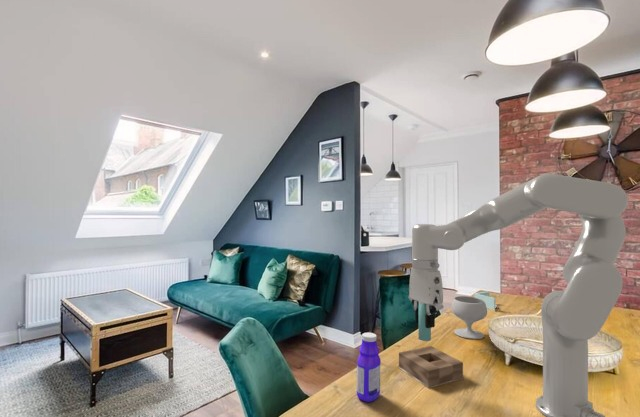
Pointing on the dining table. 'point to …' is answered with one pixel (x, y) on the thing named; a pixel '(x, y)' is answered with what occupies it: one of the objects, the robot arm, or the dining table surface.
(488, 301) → the l-shaped corner panel
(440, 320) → the dining table surface
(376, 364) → the bottle
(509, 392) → the dining table surface
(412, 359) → the socket block
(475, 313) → the chalice
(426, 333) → the peg
